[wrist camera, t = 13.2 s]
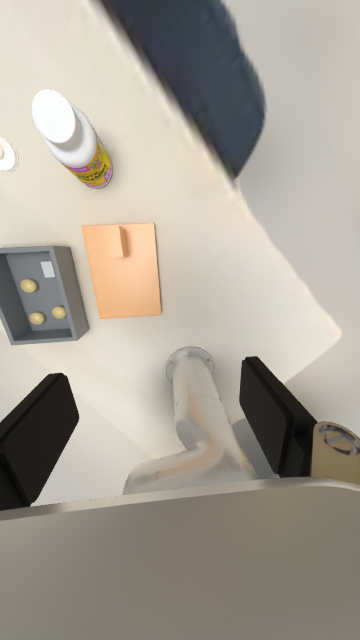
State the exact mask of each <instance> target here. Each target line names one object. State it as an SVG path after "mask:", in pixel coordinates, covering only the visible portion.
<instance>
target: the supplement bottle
mask: <svg viewBox="0 0 360 640" xmlns="http://www.w3.org/2000/svg"><path fill="white" fill-rule="evenodd" d="M32 116H33V119H34V122H35V125H36V127H37V128H38V130H39V131H40V133H41V134H42V136H43V139H44V142H45V144H46V146H47V148H48V149H49V151H50V152H51V153H52V155H53V156H54V157H55V158H56V159H57V160H58V161H59V162H61V163H62V164H63V165H64V166H65V167H66V168H67V169H68V170H69V171H71V172H72V173H73V174H74V175H75V176H76V177H77V178H78V179H80V180H81V181H82V182H83V183H84V184H86V185H87V186H89V187H92V188H101V187H103V186H105V185H106V184H107V183H108V182H109V180H110V178H111V175H112V163H111V160H110V157H109V155H108V153H107V151H106V149H105V148H104V146H103V144H102V142H101V141H100V139H99V137H98V135H97V134H96V132H95V130H94V128H93V126H92V125H91V123H90V121H89V120H88V118H87V116H86V115H85V114H84V113H83V112H82V111H81V110H80V109H79V108H78V107H76V106H75V105H73V104H71V103H69V102H68V101H67V99H66V98H65V97H64V96H63V95H61V94H60V93H58V92H57V91H54V90H51V89H45V90H42V91H40V92H39V93H37V95H36V96H35V97H34V99H33V103H32Z"/></svg>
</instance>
